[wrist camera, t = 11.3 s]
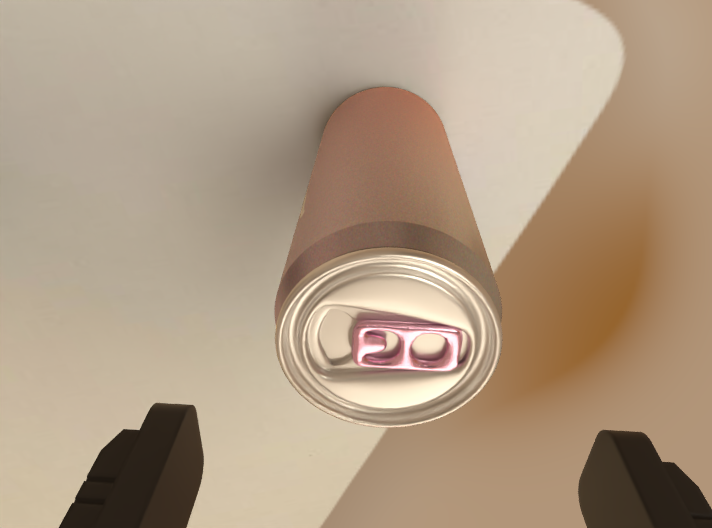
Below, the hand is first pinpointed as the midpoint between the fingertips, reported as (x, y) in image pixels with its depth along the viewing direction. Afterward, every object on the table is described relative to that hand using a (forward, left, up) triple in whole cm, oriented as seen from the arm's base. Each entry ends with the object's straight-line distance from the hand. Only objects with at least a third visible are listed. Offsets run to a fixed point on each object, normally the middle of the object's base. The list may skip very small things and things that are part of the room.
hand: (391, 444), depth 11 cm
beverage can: (0, 0, -18) cm, 18 cm away
